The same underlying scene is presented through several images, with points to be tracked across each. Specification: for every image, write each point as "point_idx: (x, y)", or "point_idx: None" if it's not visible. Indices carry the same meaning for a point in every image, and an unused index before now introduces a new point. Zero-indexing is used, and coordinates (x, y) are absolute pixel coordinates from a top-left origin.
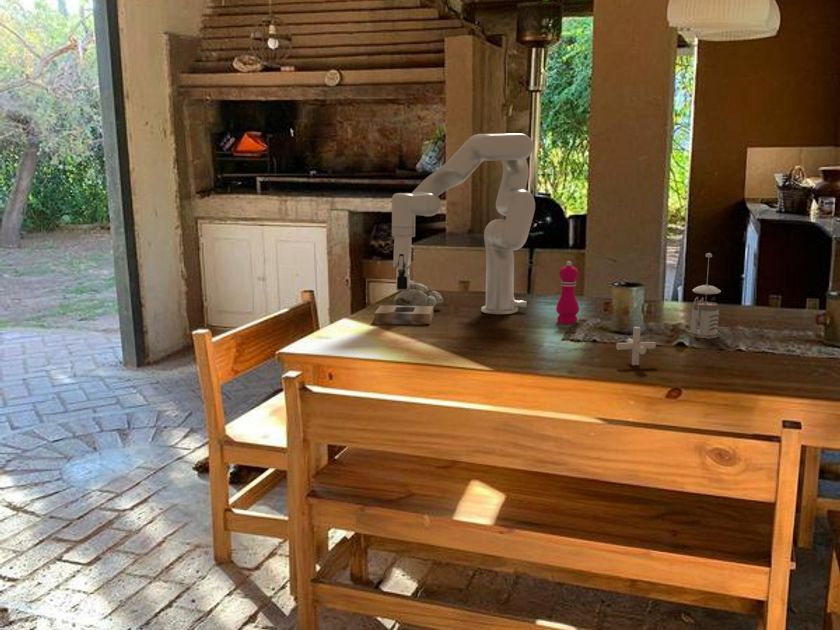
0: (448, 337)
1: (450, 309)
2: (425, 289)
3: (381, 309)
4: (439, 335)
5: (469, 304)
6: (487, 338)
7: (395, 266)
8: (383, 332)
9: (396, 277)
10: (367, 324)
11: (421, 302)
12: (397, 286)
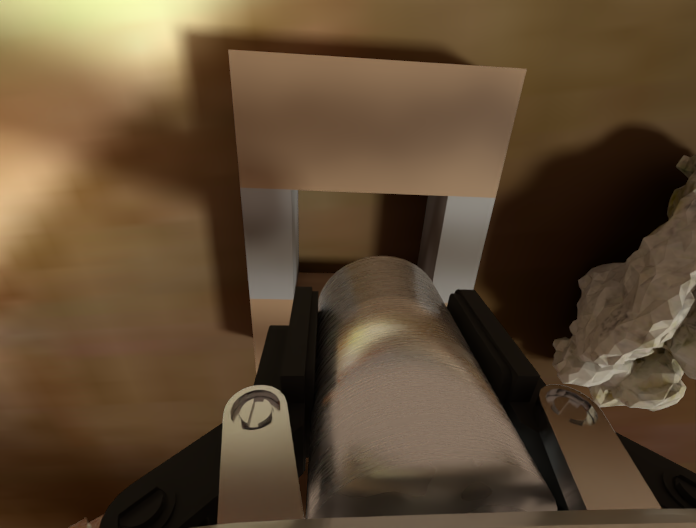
0: (56, 408)
1: None
2: (689, 373)
3: (367, 95)
4: (76, 381)
5: (639, 439)
6: (91, 496)
7: (398, 516)
8: (33, 143)
9: (375, 340)
10: (220, 6)
11: (581, 316)
12: (295, 298)
